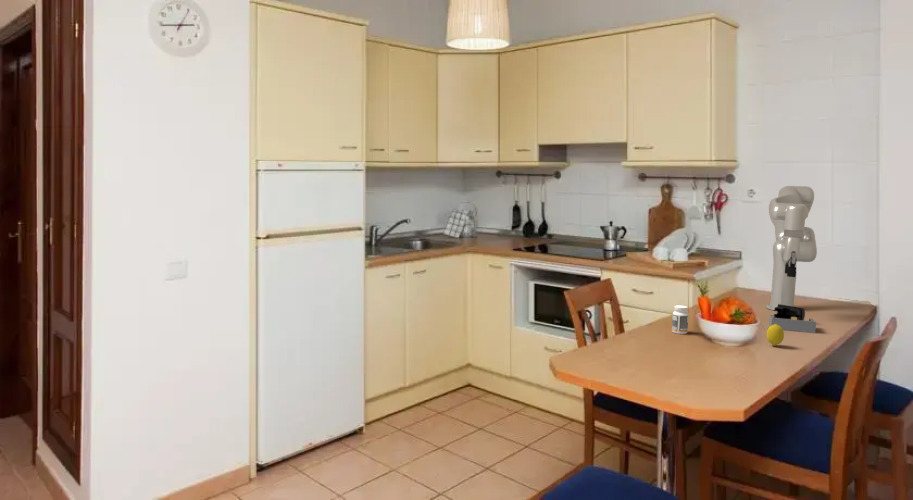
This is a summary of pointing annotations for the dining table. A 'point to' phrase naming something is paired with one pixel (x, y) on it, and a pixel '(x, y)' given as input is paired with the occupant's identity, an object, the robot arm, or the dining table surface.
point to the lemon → (775, 334)
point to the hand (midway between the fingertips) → (790, 275)
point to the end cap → (789, 312)
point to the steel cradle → (794, 324)
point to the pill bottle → (680, 320)
